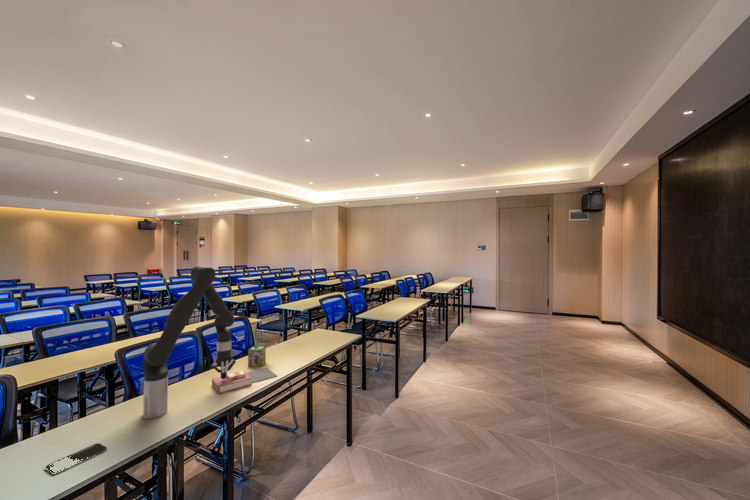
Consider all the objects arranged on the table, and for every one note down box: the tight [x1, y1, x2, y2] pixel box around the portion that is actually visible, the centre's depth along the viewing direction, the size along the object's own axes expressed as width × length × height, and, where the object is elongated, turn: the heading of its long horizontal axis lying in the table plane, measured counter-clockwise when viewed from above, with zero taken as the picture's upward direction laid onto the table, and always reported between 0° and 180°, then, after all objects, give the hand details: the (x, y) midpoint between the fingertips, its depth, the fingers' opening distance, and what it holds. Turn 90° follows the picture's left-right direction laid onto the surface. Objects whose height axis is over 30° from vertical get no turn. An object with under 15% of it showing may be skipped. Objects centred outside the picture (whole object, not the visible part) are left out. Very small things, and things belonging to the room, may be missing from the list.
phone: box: [45, 443, 108, 473], centre depth 110 cm, size 8×1×15 cm
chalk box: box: [247, 342, 267, 368], centre depth 207 cm, size 9×9×15 cm
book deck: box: [211, 370, 253, 395], centre depth 173 cm, size 18×14×4 cm
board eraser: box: [226, 370, 245, 381], centre depth 175 cm, size 9×6×2 cm, turn 131°
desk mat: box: [245, 367, 278, 384], centre depth 188 cm, size 16×18×1 cm
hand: (223, 378), depth 171 cm, fingers closed
